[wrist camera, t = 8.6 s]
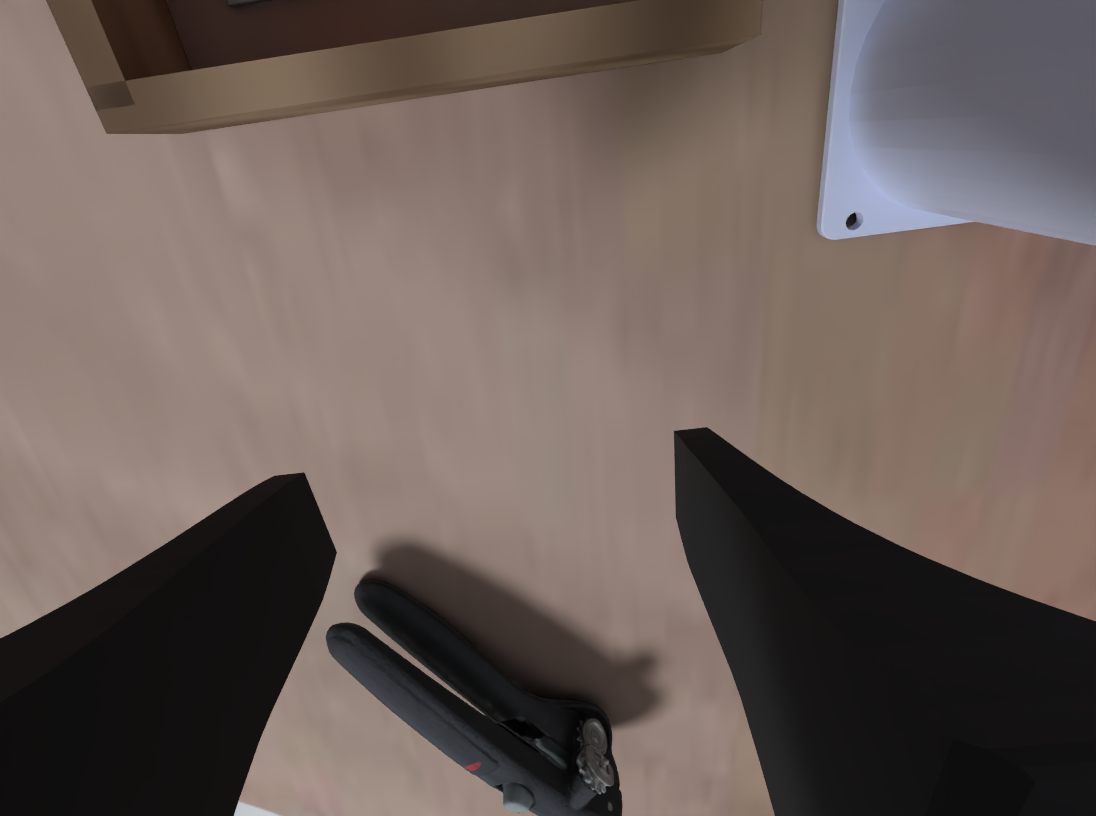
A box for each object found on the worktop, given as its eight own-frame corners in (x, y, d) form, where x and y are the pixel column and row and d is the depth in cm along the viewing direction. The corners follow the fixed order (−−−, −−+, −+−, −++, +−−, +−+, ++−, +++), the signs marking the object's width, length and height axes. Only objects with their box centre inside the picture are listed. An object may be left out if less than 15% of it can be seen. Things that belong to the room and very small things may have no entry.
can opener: (646, 722, 29) (666, 842, 24) (549, 769, 31) (550, 889, 26) (411, 532, 23) (374, 641, 18) (310, 606, 25) (252, 722, 20)
